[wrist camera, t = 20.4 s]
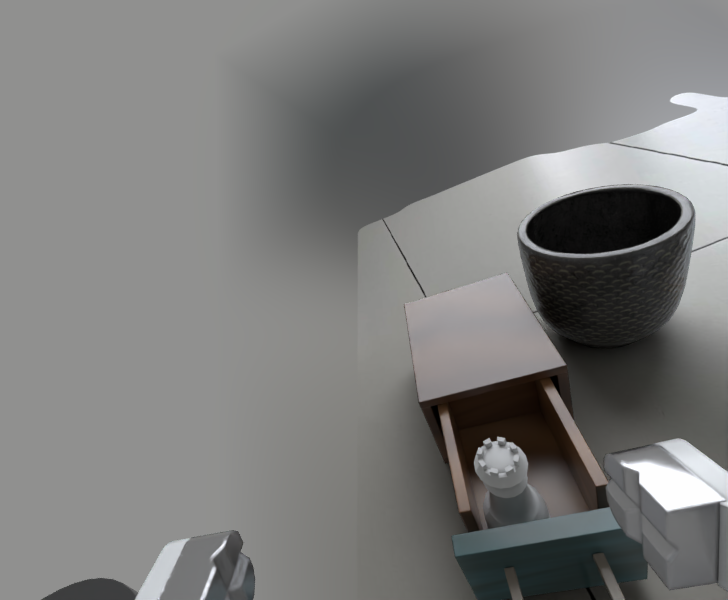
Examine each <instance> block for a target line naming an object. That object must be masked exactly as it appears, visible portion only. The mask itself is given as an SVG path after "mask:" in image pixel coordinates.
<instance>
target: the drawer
mask: <svg viewBox="0 0 728 600" xmlns="http://www.w3.org/2000/svg"><path fill="white" fill-rule="evenodd" d="M437 406H438V411H439V416H440V421H441V426H442V431H443V436H444V441H445V446H446V451H447V456H448V461H449V465H450V470H451V475H452V480H453V485H454V490H455V495H456V500H457V505H458V510H459V514H460V516H461V518H462V520H463V522H464V525H465V527H466V529H467V531H468V533H464V534H458V535H452V542H453V548H454V554H455V558H456V559H457V561H458V563H459V565H460V567H461V569H462V571H463V573H464V575H465V577H466V579H467V581H468V582H469V584H470V586H471V588H472V590H473V592H474V594H475V596H476V598H477V600H503V599H510V598H512V600H524V599H523V597H524V596H531V595H538V594H545V593H552V592H559V591H566V590H573V589H580V588H587V587H594V586H601V585H605V587H606V589H607V591H608V593H609V596H610V598H611V600H626V599H625V597H624V595H623V593H622V591H621V589H620V587H619V585H618V583H622V582H629V581H636V580H643V579H647V569H648V563H647V561H646V560H645V559H644V557H643V550H642V544H640V543H638V542H637V541H635V540H633V539H631V538H629V537H627V536H626V534H625V533H624V532H623V530H622V529H621V528H620V526H619V525H618V523H617V522H616V520H615V518H614V516H613V515H612V512H611V510H610V507H609V504H608V502H607V496H606V488H605V487H606V486H607V484H608V480H607V478H606V477H605V475H604V473H603V471H602V469H601V468H600V466H599V464H598V462H597V461H596V459H595V457H594V455H593V453H592V452H591V450H590V448H589V446H588V445H587V443H586V441H585V439H584V438H583V436H582V434H581V432H580V430H579V429H578V427H577V425H576V423H575V422H574V420H573V418H572V416H571V415H570V413H569V411H568V409H567V407H566V406H565V404H564V402H563V400H562V399H561V397H560V395H559V393H558V391H557V390H556V388H555V386H554V384H553V383H552V381H551V379H550V377H547V378H543V379H539V380H535V381H531V382H527V383H523V384H519V385H515V386H511V387H507V388H503V389H499V390H495V391H491V392H487V393H483V394H479V395H475V396H471V397H467V398H463V399H459V400H455V401H451V402H447V403H443V404H439V405H437ZM497 437H502V438H505V439H506V442H510V443H511V442H513V443H514V444H515V445H516V446H518V447H519V448H520V449H521V450H522V451H523V453H524V454H525V455H526V458H527V462H528V470H527V477H528V480H527V484H529V485H531V486H532V487H534V488H535V489H536V490H537V492H538V493H539V494H540V495H541V497H542V498H543V499H544V501H545V504H546V506H547V509H548V512H549V515H550V518H547V519H541V520H536V521H530V522H524V523H519V524H513V525H508V526H502V527H497V528H491V529H488V527H487V525H486V520H485V516H484V510H483V504H484V499H485V495H486V493H487V492H488V489H487V488H486V486H485V485H484V483H483V481H482V480H481V479H480V478H479V476H478V475H477V473H476V472H475V466H474V460H475V456H476V453H477V451H478V447H479V448H481V447H482V446H484V443H483V441H485V440H487V439H488V438H490V440H491V442H494V441H497Z"/></svg>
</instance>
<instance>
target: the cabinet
mask: <svg viewBox="0 0 728 600" xmlns="http://www.w3.org/2000/svg"><path fill="white" fill-rule="evenodd" d="M404 308H405V314H406V321H407V328H408V334H409V341H410V348H411V354H412V361H413V368H414V374H415V381H416V388H417V394H418V401H419V404H420V407H421V409H422V411H423V414H424V416H425V418H426V421H427V423H428V425H429V427H430V430H431V432H432V434H433V437H434V439H435V441H436V444H437V446H438V448H439V450H440V453H441V455H442V457H443V460H444V462H445V463H449V461H448V456H447V451H446V446H445V441H444V436H443V431H442V426H441V421H440V416H439V411H438V406H437V405H439V404H443V403H447V402H451V401H455V400H459V399H463V398H467V397H471V396H475V395H479V394H483V393H487V392H491V391H495V390H499V389H503V388H507V387H511V386H515V385H519V384H523V383H527V382H531V381H535V380H539V379H543V378H547V377H550V379H551V381H552V383H553V384H554V386H555V388H556V390H557V391H558V393H559V395H560V397H561V399H562V400H563V402H564V404H565V406H566V407H567V409H568V411H569V413H570V415H571V416H572V418H573V420H574V416H573V408H572V401H571V393H570V385H569V377H568V370H567V365H566V363H565V361H564V360H563V358H562V357H561V355H560V354H559V352H558V351H557V349H556V347H555V346H554V344H553V343H552V341H551V340H550V338H549V337H548V335H547V333H546V332H545V330H544V329H543V327H542V326H541V324H540V323H539V321H538V319H537V318H536V316H535V315H534V313H533V312H532V310H531V309H530V307H529V305H528V304H527V302H526V301H525V299H524V298H523V296H522V295H521V293H520V291H519V290H518V288H517V287H516V285H515V284H514V282H513V280H512V279H511V277H510V276H509V274H508V273H504V274H500V275H497V276H494V277H491V278H487V279H484V280H481V281H478V282H474V283H471V284H468V285H465V286H461V287H458V288H455V289H452V290H448V291H445V292H442V293H439V294H435V295H432V296H429V297H426V298H422V299H419V300H416V301H413V302H409V303H406V304H404Z"/></svg>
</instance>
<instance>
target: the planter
mask: <svg viewBox="0 0 728 600" xmlns="http://www.w3.org/2000/svg"><path fill="white" fill-rule="evenodd" d="M694 230H695V209H694V207H693V204H692V203H691V202H690V201H689V199H688V198H687V197H685V196H683V195H682V194H680V193H678V192H675V191H673V190H670V189H666V188H662V187H657V186H651V185H638V184H624V185H610V186H602V187H596V188H590V189H585V190H581V191H577V192H573V193H570V194H567V195H564V196H561V197H558V198H556V199H553V200H551V201H549V202H547V203H545V204H543V205H541V206H539V207H538V208H536V209H535V210H533V211H532V212H531V213H530V214H529V215H527V216H526V217H525V218H524V220H523V221H522V222H521V224H520V226H519V228H518V233H517V238H518V246H519V250H520V255H521V259H522V264H523V268H524V272H525V276H526V280H527V283H528V287H529V291H530V294H531V297H532V299H533V302H534V304H535V307H536V309H537V311H538V313H539V314H540V316H541V317H542V319H543V320H544V321H545V323H546V324H547V325H548V326H549V327H551V328H552V329H553V330H554V331H556V332H557V333H559V334H560V335H562V336H564V337H566V338H569V339H571V340H574V341H576V342H578V343H580V344H583V345H586V346H591V347H597V348H614V347H620V346H624V345H628V344H630V343H633V342H635V341H637V340H640V339H642V338H645V337H647V336H649V335H651V334H653V333H654V332H656V331H658V330H659V329H660V328H661V327H662V326H664V325H665V324H666V323H667V322H668V321H669V320H670V318H671V317H672V316H673V314H674V312H675V311H676V309H677V307H678V305H679V302H680V300H681V297H682V294H683V291H684V288H685V284H686V279H687V274H688V269H689V263H690V257H691V251H692V245H693V237H694Z"/></svg>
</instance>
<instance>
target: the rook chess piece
mask: <svg viewBox="0 0 728 600" xmlns="http://www.w3.org/2000/svg"><path fill="white" fill-rule="evenodd" d="M483 443H484V446H482V447H481V448H479V447H478V451H477V453H476V456H475V460H474V466H475V472H476V473H477V475H478V476H479V478H480V479H481V480H482V481H483V483H484V485H485V486H486V488H487V489H488V492H487V493H486V495H485V499H484V504H483V510H484V516H485V520H486V525H487V527H488V529H491V528H497V527H502V526H508V525H513V524H519V523H524V522H530V521H536V520H541V519H547V518H550V515H549V512H548V509H547V506H546V504H545V501H544V499H543V498H542V497H541V495H540V494H539V493H538V492H537V490H536V489H535V488H534V487H532V486H531V485H529V484H527V480H528V477H527V470H528V462H527V458H526V455H525V454H524V453H523V451H522V450H521V449H520V448H519V447H518V446H516V445H515V444H514V443H513V442H511V443H510V442H506V439H505V438H502V437H497V441H494V442H491V440H490V438H488V439H487V440H485V441H483Z"/></svg>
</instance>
